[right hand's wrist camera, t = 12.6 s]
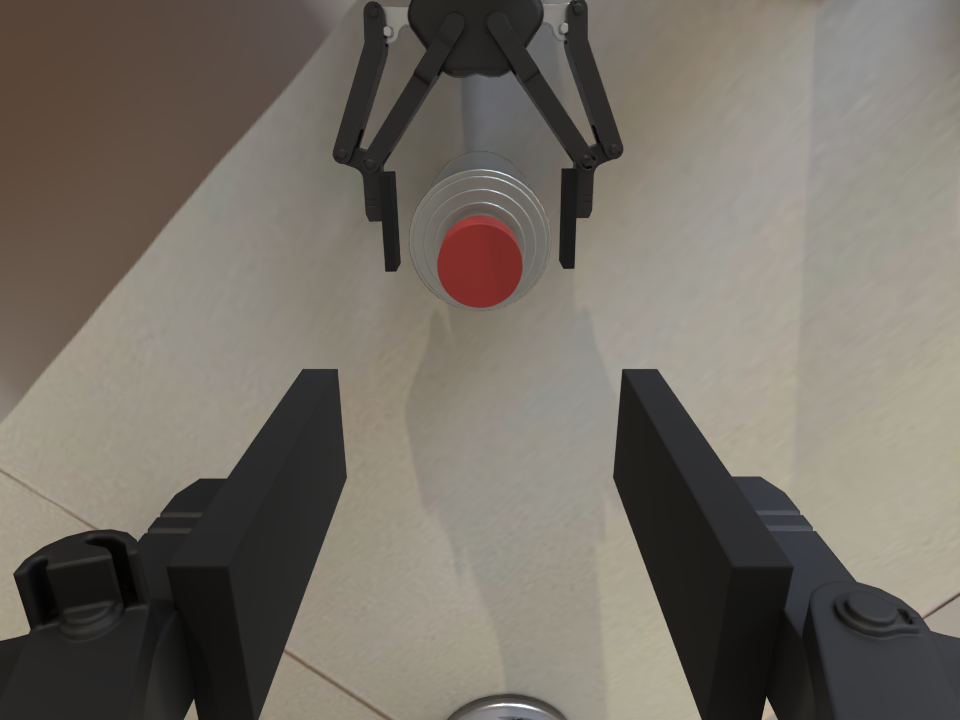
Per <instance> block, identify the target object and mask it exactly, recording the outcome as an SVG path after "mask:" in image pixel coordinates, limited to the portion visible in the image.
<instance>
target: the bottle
mask: <svg viewBox="0 0 960 720" xmlns="http://www.w3.org/2000/svg"><path fill="white" fill-rule="evenodd" d="M477 215H483V216H489V217H493V218H496V219H498V220H500V221H501V222H503V223H504V224H505V225H507V226H508V227H509V228H510V230H511V231H512V232H513V234H514V235H515V237H516V239H517V242H518V245H519V249H520V252H521V255H522V261H523V270H522V276H521V279H520V282H519V284H518V286H517V288H516V289H515V291H514V292H513V293H512V294H511V295H510V296H509V297H508V298H507V299H506V300H504V301H502V302H501V303H499V304H497V305H494V306H491V307H486V308H474V307H469V306H466V305H463V304H461V303H459V302H457V301H456V300H454V299H453V298H452V297H451V296H450V295H449V294H448V293H447V292H446V291H445V289H444V288H443V286H442V284H441V282H440V279H439V276H438V270H437V261H438V255H439V252H440V248H441V245H442V242H443V239H444V237H445V235H446V234H447V232H448V231H449V230H450V228H451V227H452V226H453V225H455V224H456V223H457V222H459V221H460V220H462V219H464V218H467V217H471V216H477ZM409 248H410V254H411V259H412V262H413V265H414V267H415V270H416V272H417V274H418V275H419V277H420V279H421V280H422V282H423V283H424V284H425V286H426V287H427V288H428V289H429V290H430V291H431V292H432V293H433V294H435V295H436V296H437V297H438V298H440V299H441V300H443V301H444V302H446V303H448V304H450V305H453V306H455V307H458V308H461V309H466V310H471V311H489V310H494V309H499V308H502V307H505V306H507V305H510V304H512V303H514V302H515V301H517V300H519V299H520V298H522V297H523V296H524V295H525V294H527V293H528V292H529V291H530V290H531V289H532V288H533V287H534V286H535V284H536V283H537V282H538V280H539V279H540V277H541V275H542V274H543V272H544V270H545V267H546V265H547V262H548V258H549V254H550V248H551V232H550V225H549V222H548V218H547V215H546V213H545V211H544V208H543V206H542V205H541V203H540V201H539V200H538V198H537V197H536V195H535V194H534V192H533V191H532V189H531V188H530V186H529V185H528V183H527V182H526V181H525V179H524V178H523V176H522V175H521V173H520V172H519V170H518V169H517V168H516V167H515V166H514V165H513V164H512V163H511V162H510V161H508V160H507V159H506V158H504V157H502V156H500V155H498V154H495V153H491V152H486V151H474V152H469V153H465V154H462V155H460V156H458V157H456V158H454V159H453V160H452V161H450V162H449V163H448V164H447V165H446V166H445V167H444V168H443V169H442V170H441V172H440V173H439V175H438V176H437V178H436V179H435V181H434V182H433V183H432V185H431V186H430V188H429V189H428V191H427V192H426V194H425V195H424V197H423V198H422V200H421V201H420V203H419V205H418V206H417V208H416V210H415V213H414V215H413V218H412V221H411V225H410V232H409Z"/></svg>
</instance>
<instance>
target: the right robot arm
mask: <svg viewBox="0 0 960 720" xmlns="http://www.w3.org/2000/svg"><path fill="white" fill-rule="evenodd" d="M346 478H347V474H346V462H345V450H344V439H343V427H342V415H341V403H340V392H339V380H338V369H303V370H302V371H301V373H300V374H299V375H298V377H297V378H296V380H295V381H294V383H293V384H292V386H291V387H290V388H289V390H288V391H287V393H286V394H285V396H284V397H283V399H282V400H281V401H280V403H279V404H278V406H277V407H276V409H275V410H274V412H273V413H272V414H271V416H270V417H269V419H268V420H267V422H266V423H265V425H264V426H263V427H262V429H261V430H260V432H259V433H258V435H257V436H256V438H255V439H254V440H253V442H252V443H251V445H250V446H249V448H248V449H247V450H246V452H245V453H244V455H243V456H242V458H241V459H240V461H239V462H238V463H237V465H236V466H235V468H234V469H233V471H232V472H231V474H230V475H229V476H228V478H227V479H199V480H197V481H196V482H194V483H193V484H191V485H190V486H188V487H187V488H185V489H184V490H182V491H181V492H179V493H177V494H176V495H175V496H174V497H173V499H172V500H171V501H170V502H169V504H168V505H167V506H166V507H165V509H164V510H163V511H162V512H161V514H160V517H157V519H156V520H155V521H154V522H153V524H152V525H151V526H150V527H149V529H148V533H145V534H144V535H143V536H142V537H141V539H140V540H139V541H138V542H137V540H136V539H135V538H133V537H132V536H131V535H130V534H128V533H127V532H122V531H117V530H111V529H109V530H94V531H87V532H83V533H79V534H75V535H71V536H68V537H65V538H63V539H60V540H58V541H56V542H54V543H51V544H49V545H47V546H45V547H43V548H41V549H40V550H38V551H37V552H36V553H34V554H33V555H31V556H30V557H28V558H27V559H25V560H24V562H23V563H22V564H21V565H20V566H19V568H18V569H17V570H16V571H15V572H14V574H13V575H14V578H15V581H16V584H17V587H18V591H19V594H20V597H21V600H22V603H23V606H24V610H25V613H26V616H27V619H28V622H29V625H30V628H31V630H30V632H29V634H27V635H24V636H20V637H16V638H12V639H7V640H3V641H0V720H184V718H185V716H186V714H187V712H188V710H189V708H190V706H191V704H192V701H193V699H194V701H195V705H196V710H197V715H198V719H199V720H258V719H259V716H260V714H261V711H262V708H263V705H264V703H265V700H266V697H267V694H268V692H269V689H270V686H271V684H272V681H273V678H274V675H275V673H276V670H277V667H278V664H279V662H280V659H281V656H282V653H283V651H284V648H285V645H286V643H287V640H288V637H289V634H290V632H291V629H292V626H293V623H294V621H295V618H296V615H297V612H298V610H299V607H300V604H301V602H302V599H303V596H304V593H305V591H306V588H307V585H308V582H309V580H310V577H311V574H312V571H313V569H314V566H315V563H316V560H317V558H318V555H319V552H320V550H321V547H322V544H323V541H324V539H325V536H326V533H327V530H328V528H329V525H330V522H331V519H332V517H333V514H334V511H335V509H336V506H337V503H338V500H339V498H340V495H341V492H342V489H343V487H344V484H345V481H346ZM613 478H614V481H615V484H616V487H617V489H618V492H619V495H620V498H621V500H622V503H623V506H624V509H625V511H626V514H627V517H628V519H629V522H630V525H631V528H632V530H633V533H634V536H635V539H636V541H637V544H638V547H639V550H640V552H641V555H642V558H643V561H644V563H645V566H646V569H647V571H648V574H649V577H650V580H651V582H652V585H653V588H654V591H655V593H656V596H657V599H658V602H659V604H660V607H661V610H662V612H663V615H664V618H665V621H666V623H667V626H668V629H669V632H670V634H671V637H672V640H673V643H674V645H675V648H676V651H677V653H678V656H679V659H680V662H681V664H682V667H683V670H684V673H685V675H686V678H687V681H688V684H689V686H690V689H691V692H692V694H693V697H694V700H695V703H696V705H697V708H698V711H699V714H700V716H701V719H702V720H761V719H762V715H763V710H764V705H765V701H766V696H767V698H768V700H769V702H770V704H771V706H772V708H773V710H774V712H775V714H776V717H777V719H778V720H960V638H956V637H952V636H947V635H943V634H939V633H936V632H932V631H930V629H929V627H928V626H927V625H926V623H925V622H924V620H923V619H922V618H921V616H920V615H919V613H917V612H916V611H915V610H914V609H912V608H911V607H910V606H909V605H907V604H906V603H905V602H904V601H902V600H901V599H899V598H897V597H895V596H893V595H891V594H889V593H887V592H885V591H883V590H881V589H879V588H876V587H872V586H869V585H866V584H862V583H859V582H856V580H855V579H854V578H853V577H852V575H851V574H850V573H849V572H848V571H847V569H846V568H845V567H844V566H843V564H842V563H841V562H840V561H839V559H838V558H837V557H836V556H835V554H834V553H833V552H832V551H831V549H830V548H829V547H828V546H827V544H826V543H825V542H824V541H823V539H822V538H821V537H820V536H819V534H818V533H817V532H816V531H813V527H812V526H811V525H810V523H809V522H808V521H807V520H806V518H805V517H804V516H803V515H800V511H799V510H798V508H797V507H796V506H795V505H794V503H793V502H792V501H791V500H790V498H789V497H788V496H787V495H786V493H785V492H783V491H782V490H780V489H778V488H777V487H775V486H774V485H772V484H771V483H769V482H768V481H766V480H765V479H763V478H762V477H732V476H731V475H730V474H729V472H728V471H727V469H726V468H725V466H724V465H723V463H722V462H721V461H720V459H719V458H718V456H717V455H716V453H715V452H714V451H713V449H712V448H711V446H710V445H709V443H708V442H707V440H706V439H705V438H704V436H703V435H702V433H701V432H700V430H699V429H698V427H697V426H696V425H695V423H694V422H693V420H692V419H691V417H690V416H689V414H688V413H687V412H686V410H685V409H684V407H683V406H682V404H681V403H680V401H679V400H678V399H677V397H676V396H675V394H674V393H673V391H672V390H671V388H670V387H669V386H668V384H667V383H666V381H665V380H664V378H663V377H662V375H661V374H660V373H659V371H658V370H657V369H622V380H621V392H620V403H619V415H618V427H617V439H616V450H615V462H614V474H613ZM448 720H567V719H566V718H565V717H564V716H563V715H562V714H561V713H560V712H559V711H558V710H556V709H555V708H554V707H552V706H550V705H549V704H547V703H545V702H542V701H540V700H537V699H534V698H531V697H526V696H520V695H495V696H489V697H484V698H481V699H478V700H475V701H473V702H470V703H468V704H466V705H464V706H463V707H461V708H460V709H458V710H457V711H456V712H454V713H453V714H452V715H451V716H450V717H449V718H448Z"/></svg>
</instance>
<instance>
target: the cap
mask: <svg viewBox="0 0 960 720" xmlns="http://www.w3.org/2000/svg"><path fill="white" fill-rule="evenodd" d="M437 270H438V276H439V279H440V282H441V284H442V286H443V288H444V289H445V291H446V292H447V293H448V294H449V295H450V296H451V297H452V298H453V299H454V300H456V301H457V302H459V303H461V304H463V305H466V306H469V307H474V308H486V307H491V306H494V305H497V304H499V303H501V302H502V301H504V300H506V299H507V298H508V297H509V296H510V295H511V294H512V293H513V292H514V291H515V289H516V288H517V286H518V284H519V282H520V279H521V276H522V270H523V261H522V255H521V252H520V249H519V245H518V242H517V239H516V237H515V235H514V234H513V232H512V231H511V230H510V228H509V227H508V226H507V225H505V224H504V223H503V222H501V221H500V220H498V219H496V218H493V217H489V216H483V215H477V216H471V217H467V218H464V219H462V220H460V221H459V222H457V223H456V224H455V225H453V226H452V227H451V228H450V230H449V231H448V232H447V234H446V235H445V237H444V239H443V242H442V245H441V248H440V252H439V255H438V261H437Z"/></svg>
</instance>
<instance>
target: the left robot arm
mask: <svg viewBox="0 0 960 720" xmlns="http://www.w3.org/2000/svg"><path fill="white" fill-rule="evenodd" d="M541 24H545V25H548V26H549V27H550V28H551V30H552V34H553V37H554V38H555V39H556V40H557V41H560V42H564V47H565V52H566V56H567V59H568V62H569V65H570V68H571V71H572V74H573V77H574V80H575V83H576V85H577V88H578V91H579V94H580V97H581V100H582V103H583V106H584V109H585V112H586V115H587V117H588V120H589V123H590V126H591V129H592V132H593V135H594V138H595V141H596V144H594V145H591V146H588V145H587V143H586V142H585V140H584V139H583V137H582V136H581V134H580V133H579V131H578V130H577V128H576V127H575V125H574V123H573V122H572V120H571V119H570V117H569V116H568V114H567V113H566V111H565V110H564V108H563V107H562V105H561V104H560V102H559V101H558V99H557V98H556V96H555V94H554V93H553V91H552V90H551V88H550V87H549V85H548V84H547V82H546V81H545V79H544V78H543V76H542V75H541V73H540V71H539V69H538V67H537V66H536V64H535V62H534V61H533V59H532V58H531V56H530V55H529V53H528V52H527V50H526V47H527V46H528V44H529V43H530V41H531V40H532V38H533V37H534V35H535V34H536V32H537V31H538V29H539V28H540V26H541ZM409 26H410V27H411V29H412V30H413V31H414V33H415V34H416V36H417V37H418V39H419V40H420V41H421V43H422V44H423V46H424V47H425V49H426V50H427V51H426V53H425V54H424V56H423V58H422V59H421V61H420V63H419V64H418V66H417V68H416V69H415V71H414V74H413V76H412V78H411V79H410V81H409V82H408V84H407V86H406V87H405V89H404V91H403V92H402V94H401V96H400V97H399V99H398V101H397V102H396V104H395V106H394V107H393V109H392V110H391V112H390V114H389V115H388V117H387V119H386V120H385V122H384V124H383V125H382V127H381V129H380V130H379V132H378V134H377V135H376V137H375V138H374V140H373V142H372V143H371V145H370V147H369V148H368V150H365V149H362V148H360V145H361V141H362V138H363V135H364V132H365V128H366V125H367V122H368V118H369V115H370V112H371V109H372V105H373V102H374V99H375V96H376V92H377V89H378V86H379V83H380V79H381V76H382V73H383V69H384V66H385V63H386V59H387V55H388V49H389V45H392V44H395V43H396V42H397V41H398V40H399V37H400V33H401V31H402V30H403V29H404V28H405V27H409ZM364 36H365V43H364V47H363V50H362V54H361V57H360V61H359V64H358V67H357V71H356V74H355V78H354V81H353V85H352V88H351V91H350V95H349V98H348V102H347V105H346V108H345V112H344V115H343V119H342V122H341V126H340V129H339V132H338V136H337V139H336V143H335V146H334V149H333V157H334V159H335V161H336V162H338V163H340V164H345V165H348V166H351V167H354V168H356V169H358V170H359V171H360V172H361V174H362V176H363V182H364V195H365V208H366V215H367V217H368V219H369V222H371V221H382V228H383V243H384V257H385V271H386V272H393V271H397V269H398V267H399V265H400V263H401V260H400V243H399V227H398V210H397V194H396V178H395V171H388V172H384V169H383V167H384V164H385V163H386V161H387V159H388V158H389V156H390V154H391V153H392V151H393V150H394V148H395V146H396V145H397V143H398V142H399V140H400V138H401V137H402V135H403V134H404V132H405V130H406V129H407V127H408V125H409V124H410V122H411V121H412V119H413V117H414V116H415V114H416V113H417V111H418V109H419V108H420V106H421V105H422V103H423V101H424V100H425V98H426V96H427V95H428V93H429V92H430V90H431V89H432V87H433V86H434V84H435V83H436V81H437V80H438V78H439V77H440V75H441V73H442V72H444V73H445V74H447V75H449V76H451V77H453V78H466V77H469V76H472V75H475V74H478V75H482V76H486V77H500V76H502V75H505V74H507V73H508V72H509V71H510V70H511V71H512V73H513V74H514V76H515V77H516V79H517V80H518V82H519V83H520V84H521V86H522V87H523V88H524V90H525V91H526V93H527V94H528V96H529V97H530V99H531V100H532V102H533V103H534V105H535V106H536V108H537V109H538V111H539V112H540V114H541V115H542V117H543V118H544V120H545V121H546V123H547V124H548V126H549V127H550V129H551V130H552V132H553V133H554V135H555V136H556V138H557V139H558V141H559V142H560V144H561V145H562V147H563V148H564V150H565V151H566V153H567V154H568V156H569V157H570V159H571V160H572V162H573V168H565V169H562V176H561V212H560V248H559V261H560V263H561V265H562V267H563V269H574V265H575V238H576V218H589V216H590V214H591V212H592V199H593V177H594V171H595V169H596V168H597V166H599V165H600V164H602V163H604V162H607V161H609V160H612V159H617V158H619V157H620V156H621V155H622V153H623V145H622V142H621V139H620V136H619V133H618V130H617V127H616V124H615V121H614V117H613V114H612V111H611V108H610V105H609V102H608V99H607V96H606V93H605V90H604V87H603V84H602V81H601V78H600V75H599V72H598V69H597V66H596V63H595V60H594V57H593V54H592V51H591V48H590V45H589V42H588V7H587V3H586V2H585V0H572V1H571V2H570V3H561V4H544V5H542V3H541V1H540V0H412V1H411V3H410V5H409V7H389V6H381V5H380V4H378V3H377V2H369V3H368V4H366V6H365V8H364Z"/></svg>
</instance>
